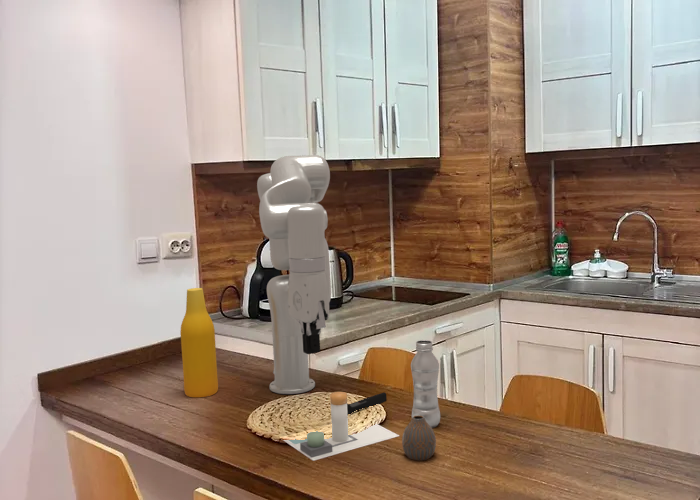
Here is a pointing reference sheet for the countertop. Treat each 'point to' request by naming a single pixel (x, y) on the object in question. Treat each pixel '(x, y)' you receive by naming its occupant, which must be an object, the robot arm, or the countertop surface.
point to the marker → (339, 416)
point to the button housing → (316, 449)
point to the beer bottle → (198, 347)
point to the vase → (418, 439)
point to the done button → (315, 439)
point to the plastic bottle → (425, 383)
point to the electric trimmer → (366, 402)
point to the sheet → (350, 441)
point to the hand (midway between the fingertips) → (311, 352)
